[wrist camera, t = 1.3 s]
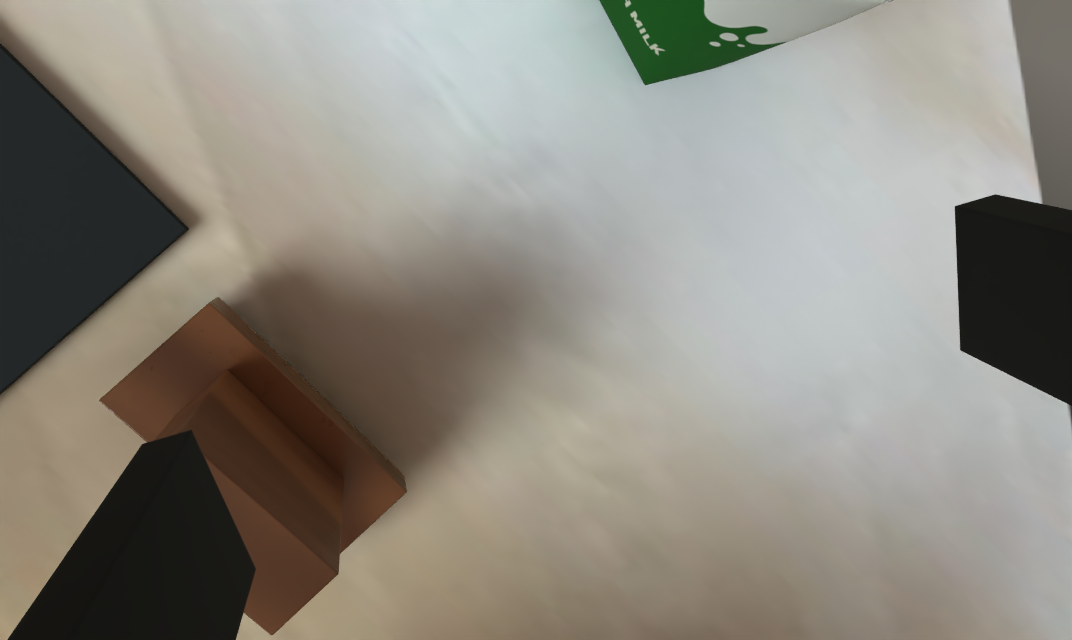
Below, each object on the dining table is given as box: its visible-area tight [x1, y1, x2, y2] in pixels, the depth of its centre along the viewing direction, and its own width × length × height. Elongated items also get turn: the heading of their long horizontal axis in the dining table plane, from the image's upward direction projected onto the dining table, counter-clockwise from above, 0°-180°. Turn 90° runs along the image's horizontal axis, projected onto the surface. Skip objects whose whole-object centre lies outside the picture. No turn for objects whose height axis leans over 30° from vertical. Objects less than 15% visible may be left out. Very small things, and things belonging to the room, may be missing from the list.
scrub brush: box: [99, 297, 407, 635], centre depth 30 cm, size 6×12×12 cm, turn 41°
